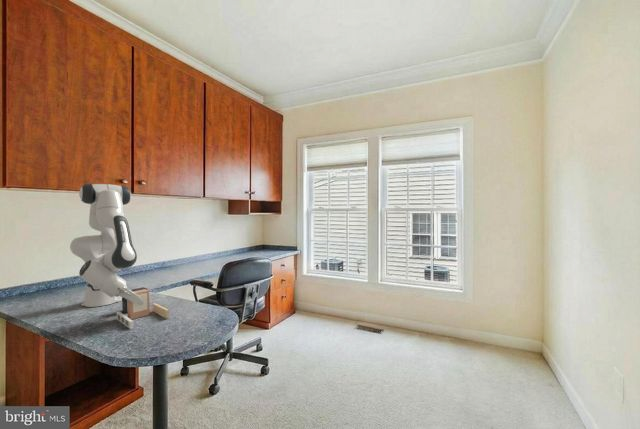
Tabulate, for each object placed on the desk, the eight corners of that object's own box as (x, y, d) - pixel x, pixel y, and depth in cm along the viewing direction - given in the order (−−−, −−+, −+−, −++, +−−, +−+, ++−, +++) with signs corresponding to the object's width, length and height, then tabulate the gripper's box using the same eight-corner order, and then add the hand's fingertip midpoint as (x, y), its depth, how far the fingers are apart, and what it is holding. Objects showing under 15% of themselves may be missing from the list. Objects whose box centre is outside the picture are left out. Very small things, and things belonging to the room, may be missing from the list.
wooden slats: (116, 319, 138) (115, 310, 138) (153, 310, 151) (153, 302, 151) (129, 329, 125) (129, 320, 125) (169, 318, 137) (169, 309, 137)
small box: (144, 305, 158) (143, 286, 158) (149, 308, 154) (148, 288, 154) (121, 311, 150) (121, 291, 150) (126, 313, 146) (125, 292, 146)
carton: (127, 317, 140) (126, 292, 141) (146, 312, 147) (145, 289, 147) (131, 319, 137) (130, 294, 137) (149, 314, 143) (149, 290, 143)
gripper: (128, 284, 130) (152, 300, 137) (114, 278, 143) (137, 293, 151) (116, 296, 126) (142, 312, 134) (104, 289, 140) (128, 304, 147)
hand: (139, 302), depth 142 cm, fingers closed on carton, 5 cm apart
